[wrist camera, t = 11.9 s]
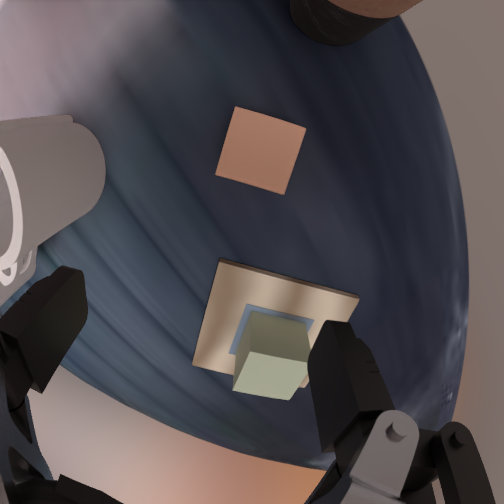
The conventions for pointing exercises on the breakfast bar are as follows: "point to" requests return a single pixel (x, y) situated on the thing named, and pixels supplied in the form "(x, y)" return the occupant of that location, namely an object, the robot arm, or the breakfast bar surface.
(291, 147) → the terracotta block
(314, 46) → the breakfast bar surface
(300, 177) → the breakfast bar surface
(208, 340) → the board
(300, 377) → the sage block
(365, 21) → the travel mug
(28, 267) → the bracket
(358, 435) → the robot arm
